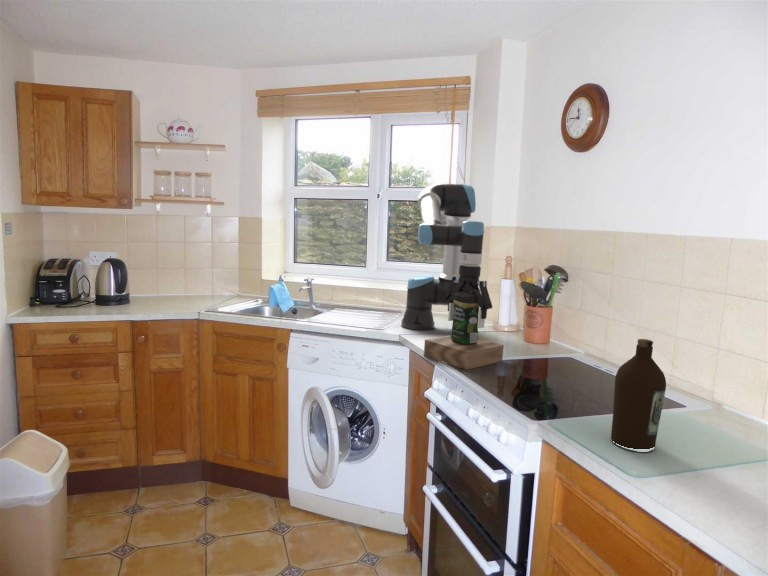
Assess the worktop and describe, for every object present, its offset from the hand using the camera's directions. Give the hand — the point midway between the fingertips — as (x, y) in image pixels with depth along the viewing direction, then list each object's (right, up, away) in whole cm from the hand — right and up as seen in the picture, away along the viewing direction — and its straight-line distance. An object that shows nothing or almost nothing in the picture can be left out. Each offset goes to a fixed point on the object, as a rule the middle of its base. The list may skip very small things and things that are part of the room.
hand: (465, 324), depth 190 cm
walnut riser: (-1, -13, +2) cm, 13 cm away
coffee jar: (-1, -7, +1) cm, 7 cm away
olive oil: (+29, -24, -66) cm, 76 cm away
